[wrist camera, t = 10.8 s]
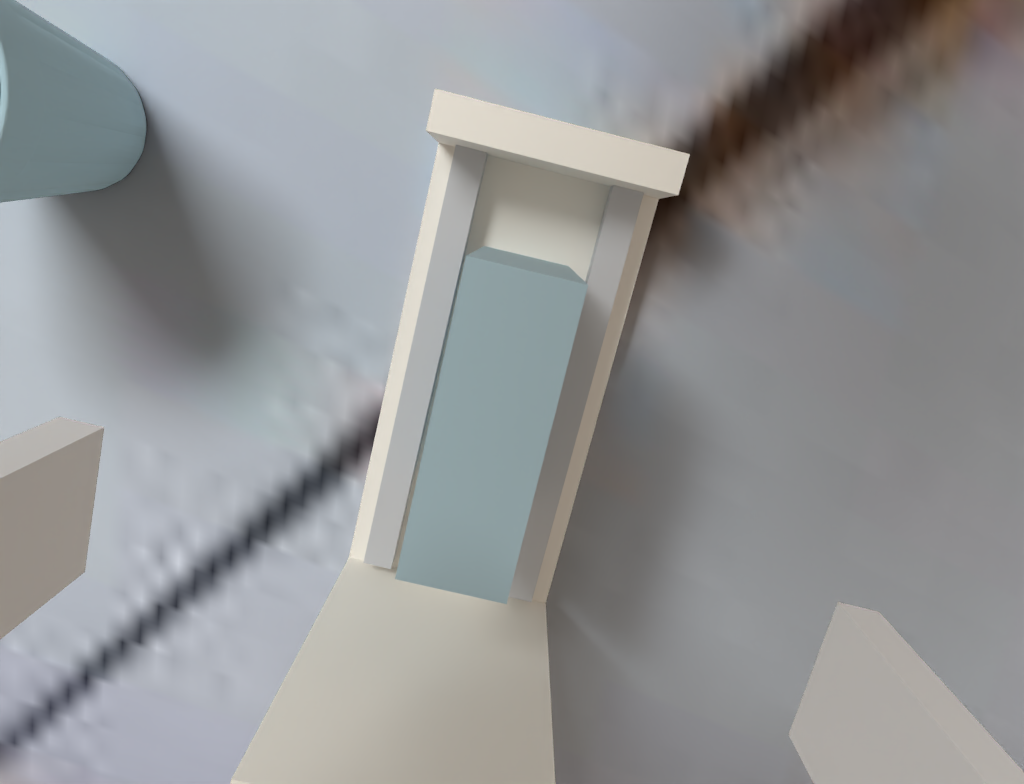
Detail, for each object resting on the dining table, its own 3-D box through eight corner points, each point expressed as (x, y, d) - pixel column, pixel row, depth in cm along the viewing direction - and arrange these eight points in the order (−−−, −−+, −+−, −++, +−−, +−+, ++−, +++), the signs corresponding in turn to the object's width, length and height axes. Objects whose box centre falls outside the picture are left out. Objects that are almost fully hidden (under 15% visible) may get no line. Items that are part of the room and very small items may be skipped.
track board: (449, 109, 31) (381, 7, 16) (664, 165, 31) (786, 113, 17) (343, 596, 36) (216, 856, 21) (531, 640, 36) (536, 926, 21)
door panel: (484, 245, 31) (465, 255, 21) (568, 266, 31) (588, 285, 22) (433, 475, 33) (394, 579, 24) (512, 493, 33) (506, 604, 24)
